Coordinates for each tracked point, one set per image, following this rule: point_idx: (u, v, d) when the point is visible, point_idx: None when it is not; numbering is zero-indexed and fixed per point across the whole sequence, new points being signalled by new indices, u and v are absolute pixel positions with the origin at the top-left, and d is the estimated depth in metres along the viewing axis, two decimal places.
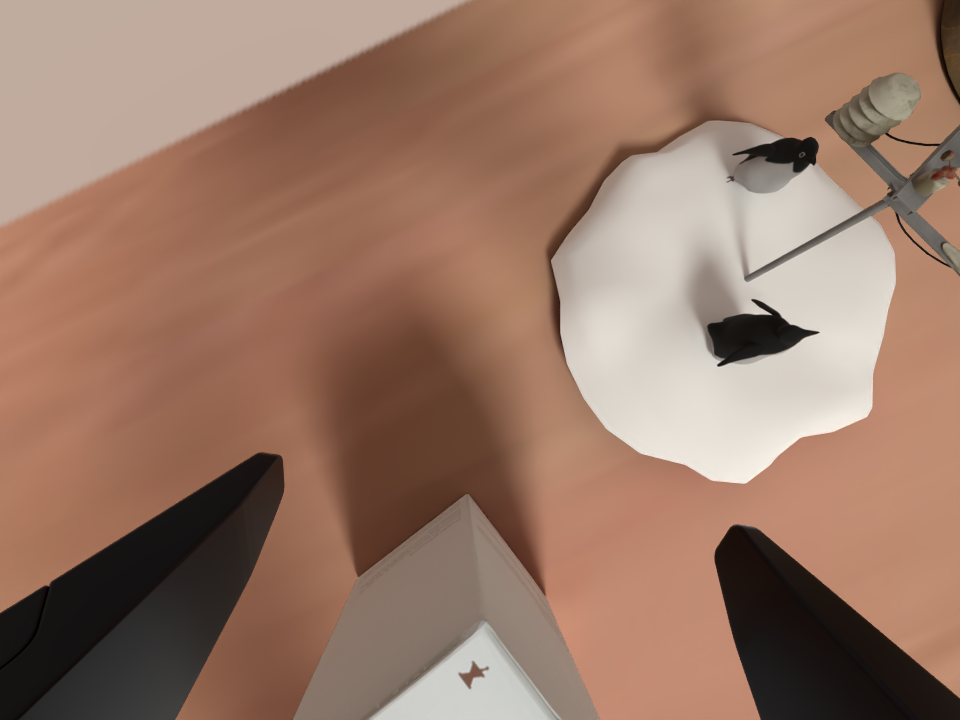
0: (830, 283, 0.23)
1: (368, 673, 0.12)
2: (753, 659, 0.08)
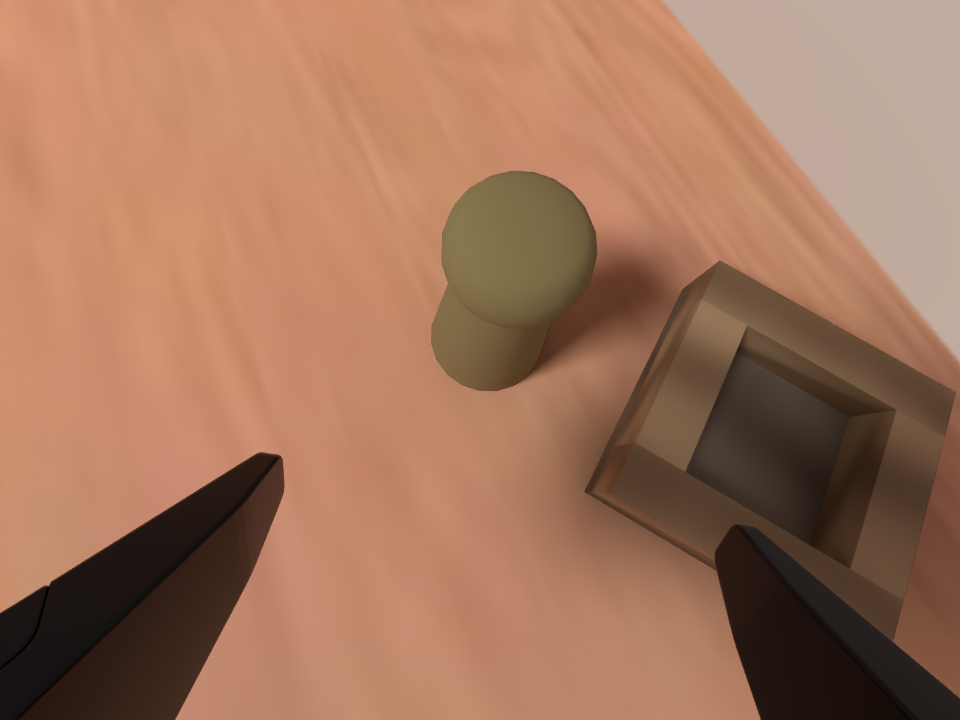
0: None
1: None
2: (753, 659, 0.08)
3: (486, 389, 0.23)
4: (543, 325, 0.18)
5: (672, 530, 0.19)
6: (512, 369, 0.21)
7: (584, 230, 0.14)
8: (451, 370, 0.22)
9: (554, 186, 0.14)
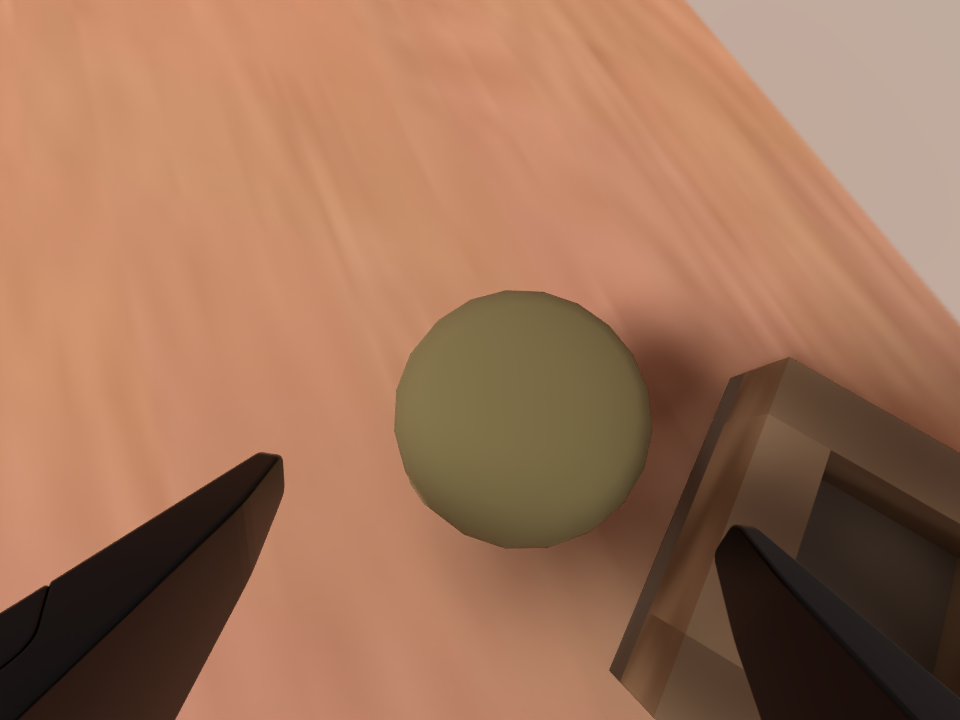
0: None
1: None
2: (753, 659, 0.08)
3: None
4: None
5: None
6: None
7: (634, 402, 0.08)
8: None
9: (582, 324, 0.08)
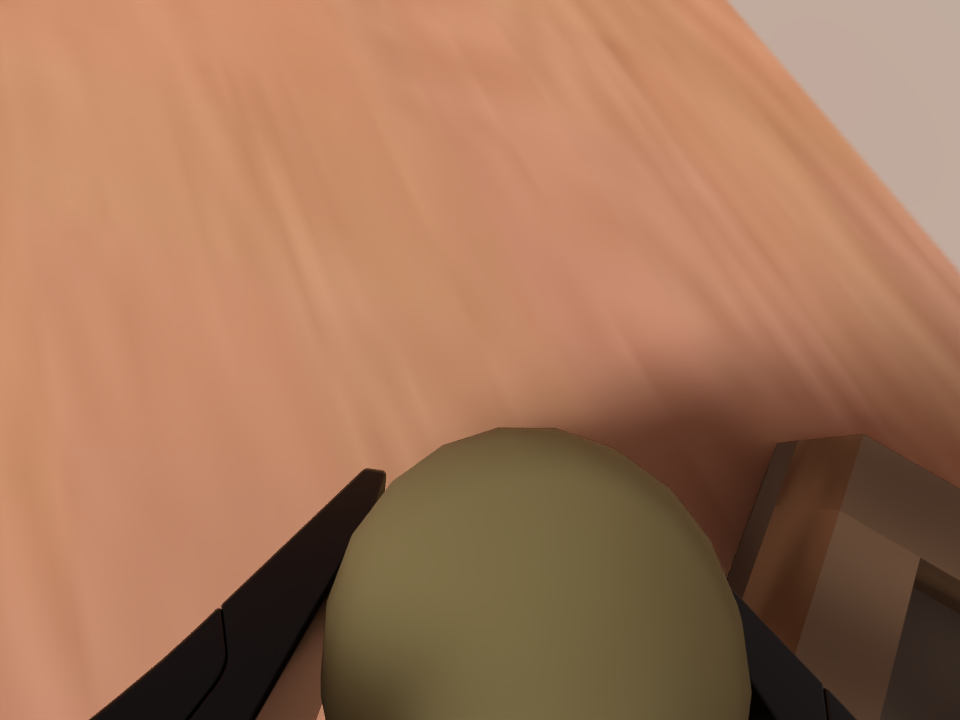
0: None
1: None
2: None
3: None
4: None
5: None
6: None
7: (728, 662, 0.05)
8: None
9: (636, 514, 0.05)
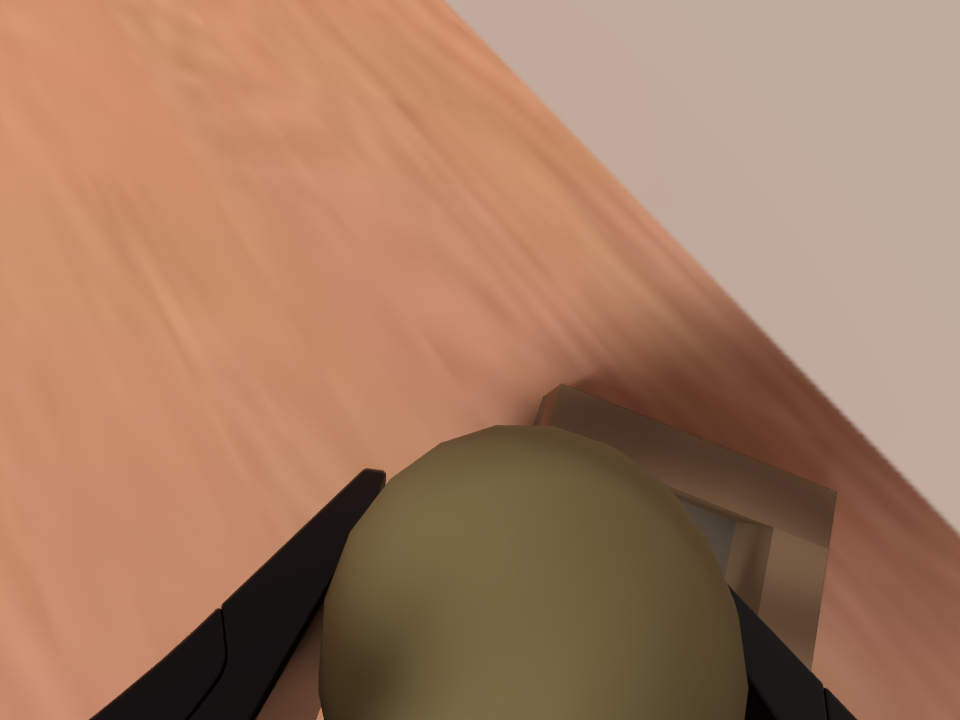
0: None
1: None
2: None
3: None
4: None
5: None
6: None
7: (724, 659, 0.05)
8: None
9: (633, 512, 0.05)
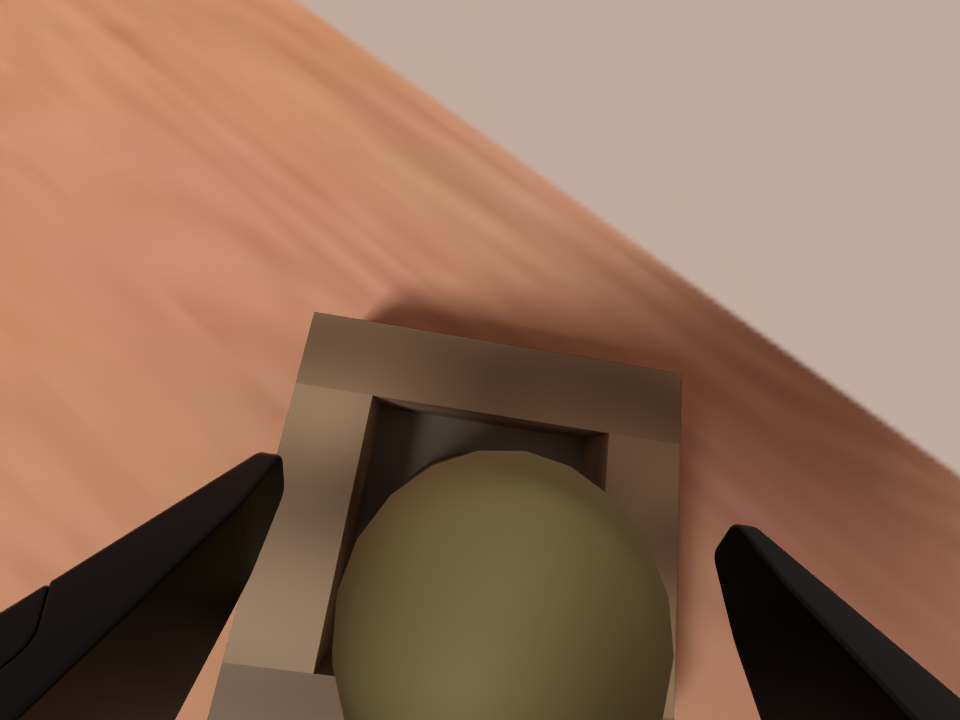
0: None
1: None
2: (753, 659, 0.08)
3: None
4: None
5: None
6: None
7: (651, 642, 0.06)
8: None
9: (581, 525, 0.06)
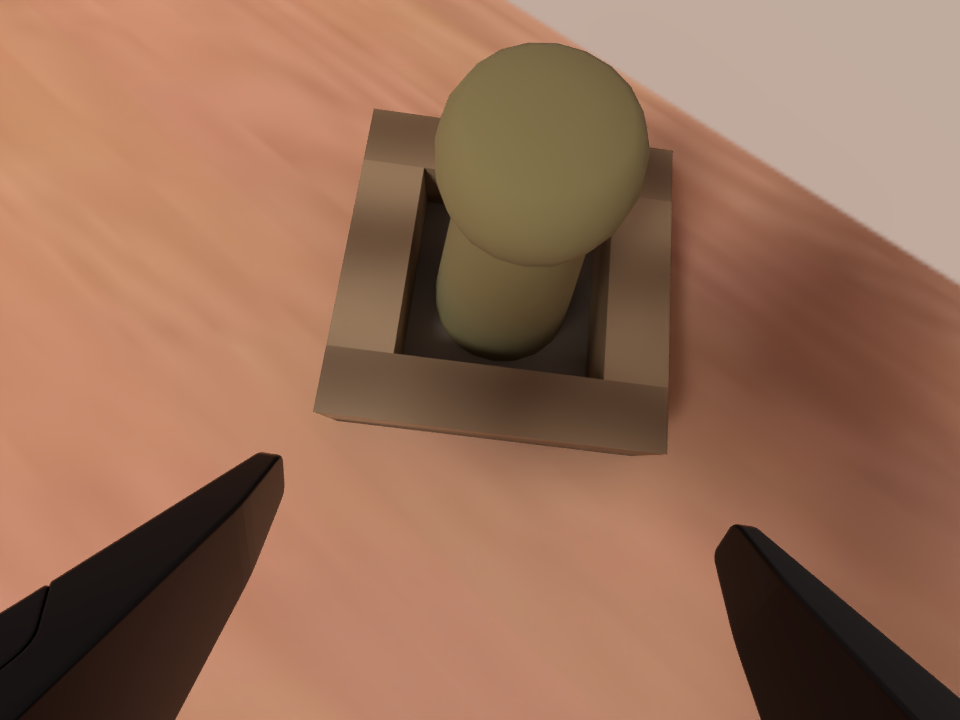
0: None
1: None
2: (753, 659, 0.08)
3: (502, 359, 0.19)
4: (573, 268, 0.14)
5: (397, 421, 0.16)
6: (533, 332, 0.17)
7: (633, 117, 0.10)
8: (459, 337, 0.19)
9: (588, 59, 0.10)
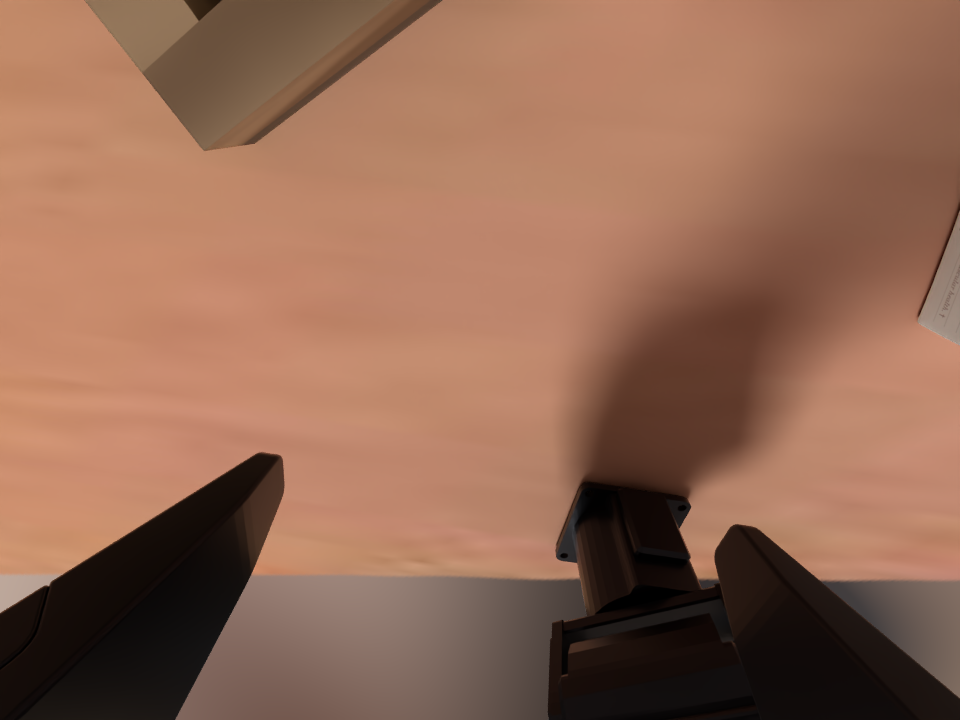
0: None
1: None
2: (753, 659, 0.08)
3: None
4: None
5: (273, 96, 0.14)
6: None
7: None
8: None
9: None
